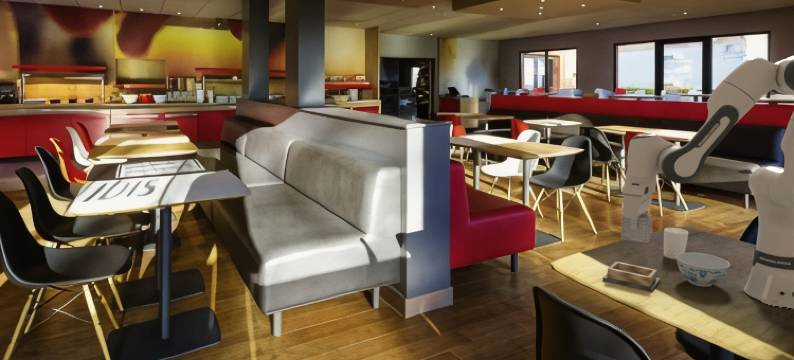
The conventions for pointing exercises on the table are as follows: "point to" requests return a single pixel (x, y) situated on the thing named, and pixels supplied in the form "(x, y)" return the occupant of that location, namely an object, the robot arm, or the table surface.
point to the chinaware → (702, 268)
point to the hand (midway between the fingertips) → (636, 226)
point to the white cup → (674, 242)
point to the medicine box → (641, 232)
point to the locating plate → (632, 276)
